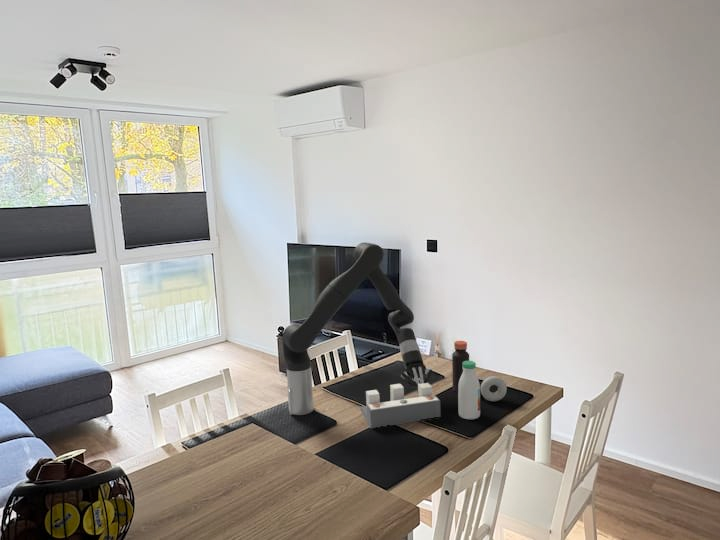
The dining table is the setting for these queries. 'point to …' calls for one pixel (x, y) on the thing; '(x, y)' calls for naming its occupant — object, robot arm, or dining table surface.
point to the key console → (401, 411)
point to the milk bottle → (469, 392)
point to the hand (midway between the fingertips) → (422, 395)
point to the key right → (424, 389)
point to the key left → (372, 397)
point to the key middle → (396, 392)
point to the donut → (488, 383)
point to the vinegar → (458, 361)
